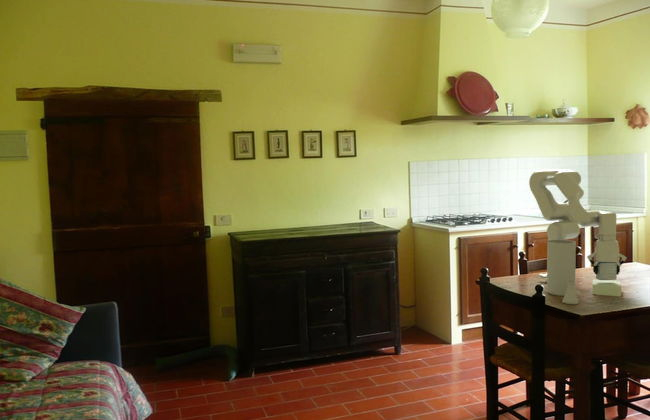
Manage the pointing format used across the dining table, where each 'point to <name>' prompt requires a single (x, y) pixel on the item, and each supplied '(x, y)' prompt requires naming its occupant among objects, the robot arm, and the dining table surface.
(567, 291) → the flask
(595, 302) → the dining table surface
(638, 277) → the dining table surface
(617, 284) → the sage block
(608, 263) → the medicine box
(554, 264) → the cylinder vase
